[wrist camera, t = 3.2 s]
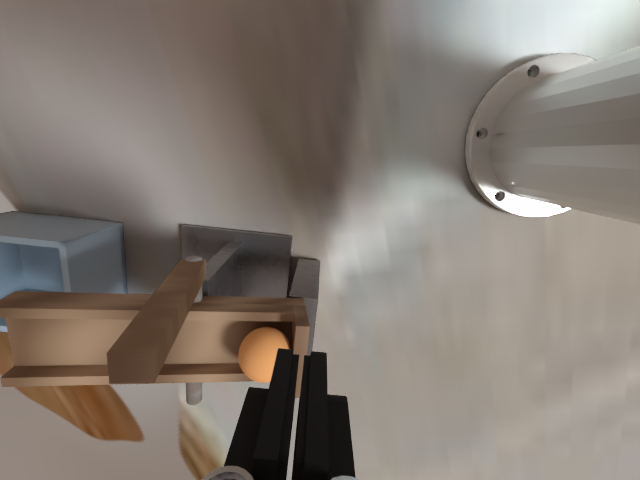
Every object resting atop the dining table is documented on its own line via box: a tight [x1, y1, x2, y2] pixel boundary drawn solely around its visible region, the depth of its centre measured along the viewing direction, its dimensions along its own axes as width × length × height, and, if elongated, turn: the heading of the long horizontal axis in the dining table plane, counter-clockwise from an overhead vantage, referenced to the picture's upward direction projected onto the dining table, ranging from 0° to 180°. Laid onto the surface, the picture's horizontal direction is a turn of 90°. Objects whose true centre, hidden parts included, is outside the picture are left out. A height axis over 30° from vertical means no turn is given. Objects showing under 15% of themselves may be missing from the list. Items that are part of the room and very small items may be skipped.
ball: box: [238, 327, 291, 383], centre depth 19 cm, size 3×3×3 cm
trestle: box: [181, 224, 320, 356], centre depth 25 cm, size 13×9×9 cm
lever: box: [0, 256, 310, 405], centre depth 16 cm, size 17×10×10 cm, turn 85°
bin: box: [0, 211, 127, 332], centre depth 25 cm, size 10×8×10 cm
